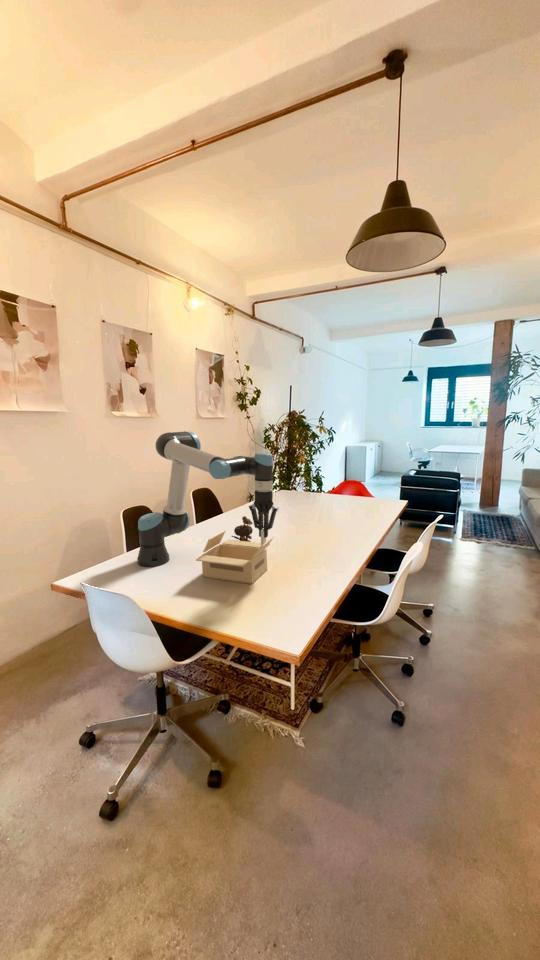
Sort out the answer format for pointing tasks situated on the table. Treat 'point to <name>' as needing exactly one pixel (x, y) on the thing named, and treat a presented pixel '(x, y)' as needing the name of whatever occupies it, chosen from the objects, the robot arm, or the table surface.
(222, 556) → the carton
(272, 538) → the flap
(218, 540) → the flap
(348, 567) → the table surface
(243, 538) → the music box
